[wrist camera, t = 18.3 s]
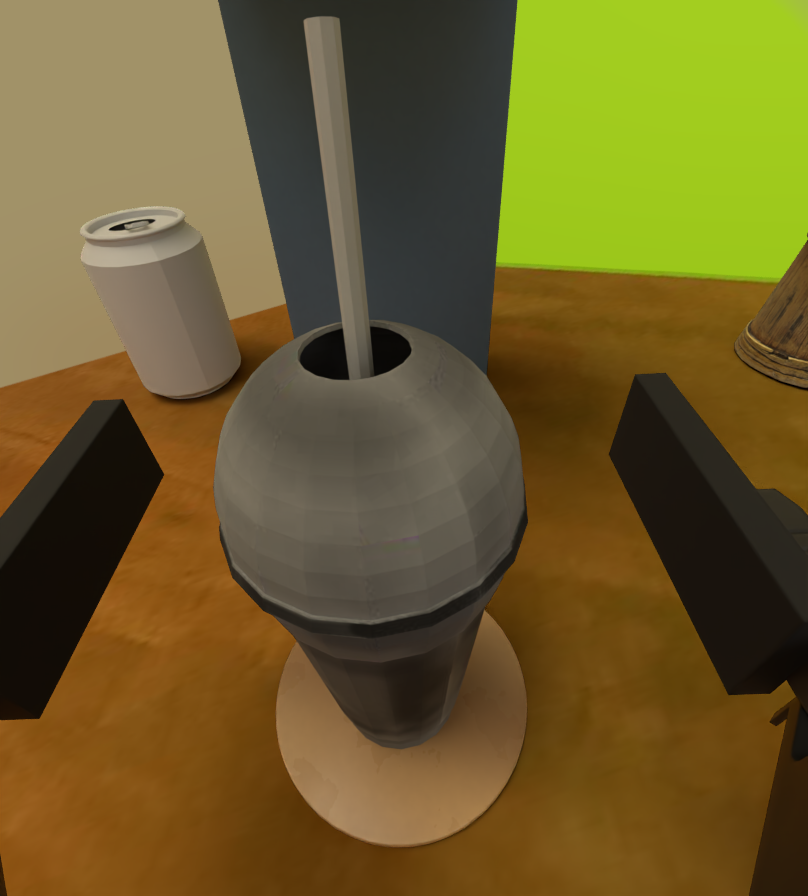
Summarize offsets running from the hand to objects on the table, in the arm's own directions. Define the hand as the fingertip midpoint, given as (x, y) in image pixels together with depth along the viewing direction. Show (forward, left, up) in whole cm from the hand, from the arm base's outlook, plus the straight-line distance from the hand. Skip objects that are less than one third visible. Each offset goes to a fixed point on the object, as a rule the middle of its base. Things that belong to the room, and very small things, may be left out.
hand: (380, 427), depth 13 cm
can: (+21, +18, -12) cm, 30 cm away
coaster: (-2, 0, -12) cm, 12 cm away
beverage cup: (-2, 0, -12) cm, 12 cm away
